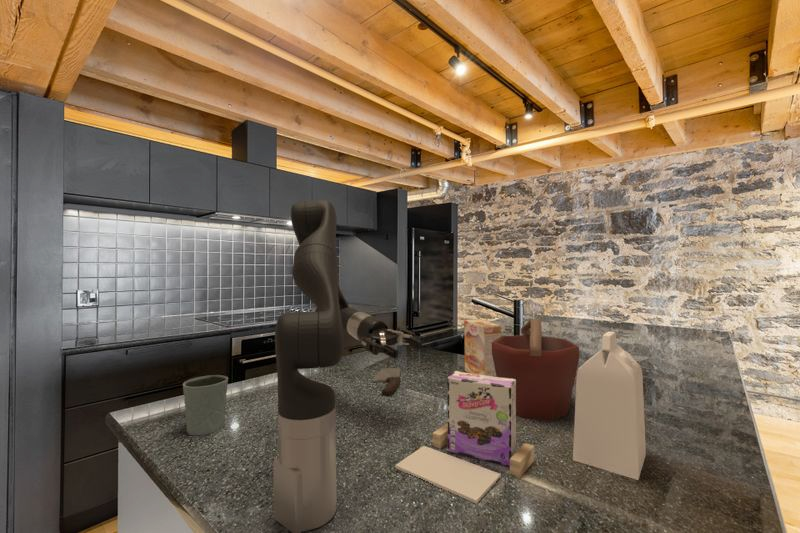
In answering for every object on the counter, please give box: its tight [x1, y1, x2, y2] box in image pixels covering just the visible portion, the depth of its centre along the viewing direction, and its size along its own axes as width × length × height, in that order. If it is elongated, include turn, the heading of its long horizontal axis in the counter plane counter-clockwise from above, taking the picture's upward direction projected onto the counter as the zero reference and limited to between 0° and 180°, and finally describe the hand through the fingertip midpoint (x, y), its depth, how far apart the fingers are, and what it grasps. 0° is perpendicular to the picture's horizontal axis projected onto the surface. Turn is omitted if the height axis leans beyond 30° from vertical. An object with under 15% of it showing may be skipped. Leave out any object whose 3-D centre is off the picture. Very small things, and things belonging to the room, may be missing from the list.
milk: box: [572, 330, 647, 481], centre depth 77 cm, size 12×12×26 cm
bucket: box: [492, 317, 580, 422], centre depth 104 cm, size 24×22×25 cm
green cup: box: [182, 374, 229, 436], centre depth 94 cm, size 10×10×12 cm
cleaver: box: [372, 367, 401, 396], centre depth 129 cm, size 29×10×2 cm, turn 179°
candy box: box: [447, 370, 517, 467], centre depth 80 cm, size 14×6×16 cm, turn 62°
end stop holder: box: [432, 422, 535, 479], centre depth 80 cm, size 8×20×3 cm, turn 51°
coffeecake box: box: [463, 318, 502, 377], centre depth 135 cm, size 15×7×20 cm, turn 17°
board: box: [394, 445, 502, 505], centre depth 72 cm, size 10×18×1 cm, turn 51°
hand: (409, 350), depth 90 cm, fingers open, 8 cm apart
